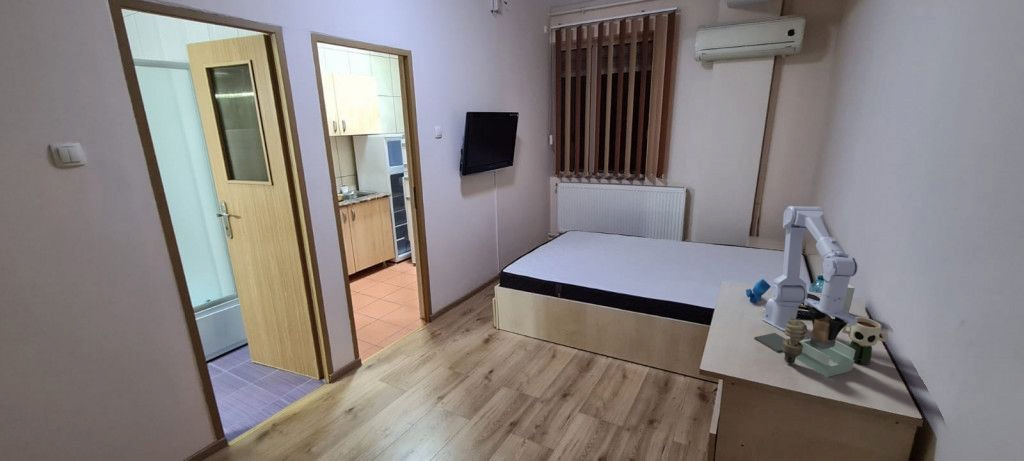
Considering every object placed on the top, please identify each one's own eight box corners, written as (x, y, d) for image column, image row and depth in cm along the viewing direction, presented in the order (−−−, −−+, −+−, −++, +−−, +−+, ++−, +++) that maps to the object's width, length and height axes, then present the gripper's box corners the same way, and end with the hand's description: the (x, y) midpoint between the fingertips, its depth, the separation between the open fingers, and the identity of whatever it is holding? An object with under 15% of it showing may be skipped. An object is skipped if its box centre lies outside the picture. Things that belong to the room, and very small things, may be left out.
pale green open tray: (785, 353, 138) (789, 335, 136) (811, 347, 141) (815, 329, 140) (826, 377, 126) (830, 357, 124) (852, 370, 129) (857, 351, 128)
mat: (754, 338, 147) (754, 337, 147) (774, 334, 150) (774, 332, 150) (777, 352, 139) (777, 350, 139) (798, 347, 142) (798, 345, 141)
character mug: (836, 359, 135) (845, 322, 131) (835, 349, 140) (843, 313, 137) (881, 370, 129) (892, 332, 125) (878, 359, 135) (887, 322, 131)
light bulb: (799, 371, 129) (808, 326, 125) (778, 365, 132) (786, 321, 128) (798, 361, 134) (808, 318, 129) (778, 356, 136) (786, 313, 132)
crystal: (742, 286, 172) (753, 272, 179) (741, 304, 176) (752, 290, 183) (763, 292, 167) (773, 277, 174) (761, 310, 170) (771, 295, 177)
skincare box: (848, 317, 161) (855, 288, 158) (835, 316, 162) (842, 287, 159) (840, 310, 167) (846, 281, 164) (827, 309, 168) (834, 280, 164)
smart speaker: (788, 300, 176) (790, 291, 175) (811, 301, 175) (813, 292, 174) (800, 310, 167) (802, 301, 166) (824, 311, 166) (826, 301, 165)
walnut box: (809, 342, 133) (814, 319, 131) (821, 340, 135) (826, 317, 132) (822, 349, 130) (827, 325, 127) (834, 346, 131) (839, 323, 129)
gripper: (868, 303, 122) (858, 345, 126) (819, 283, 135) (811, 322, 139) (851, 307, 120) (840, 349, 124) (802, 286, 133) (794, 326, 137)
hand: (824, 335), depth 131 cm, fingers closed on walnut box, 4 cm apart
